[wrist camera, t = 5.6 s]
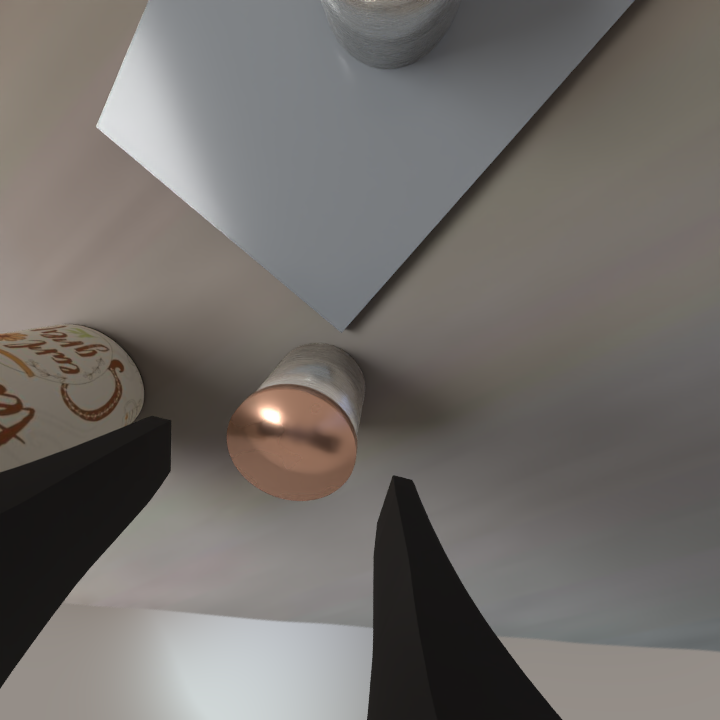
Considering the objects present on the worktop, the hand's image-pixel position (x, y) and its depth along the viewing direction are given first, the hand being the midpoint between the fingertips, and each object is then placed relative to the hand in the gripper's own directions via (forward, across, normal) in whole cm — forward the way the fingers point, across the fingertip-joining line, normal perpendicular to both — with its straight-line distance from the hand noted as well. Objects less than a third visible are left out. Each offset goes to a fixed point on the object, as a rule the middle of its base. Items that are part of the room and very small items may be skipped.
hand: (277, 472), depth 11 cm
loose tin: (+6, 0, 0) cm, 6 cm away
